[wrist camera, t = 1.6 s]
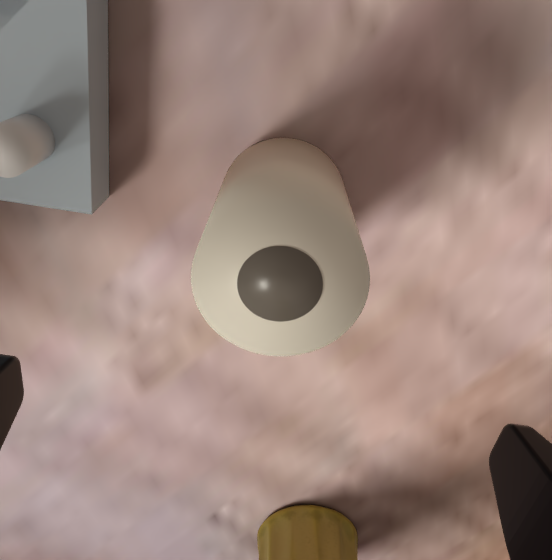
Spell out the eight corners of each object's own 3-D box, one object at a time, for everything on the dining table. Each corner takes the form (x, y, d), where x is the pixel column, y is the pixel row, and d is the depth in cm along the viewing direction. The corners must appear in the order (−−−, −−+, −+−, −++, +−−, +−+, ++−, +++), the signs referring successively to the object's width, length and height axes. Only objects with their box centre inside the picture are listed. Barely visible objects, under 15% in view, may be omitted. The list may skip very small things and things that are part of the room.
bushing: (330, 264, 21) (347, 368, 15) (215, 246, 21) (184, 344, 15) (358, 149, 19) (391, 216, 13) (228, 127, 19) (198, 185, 12)
